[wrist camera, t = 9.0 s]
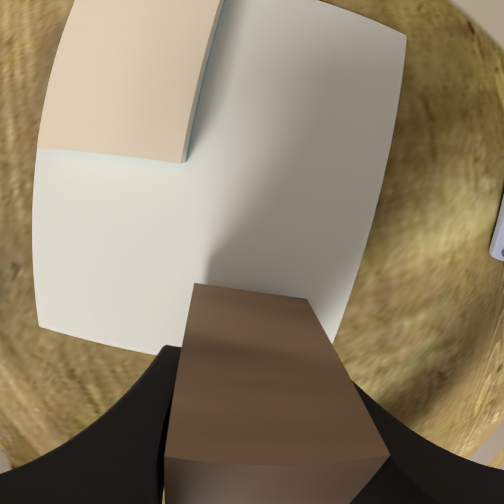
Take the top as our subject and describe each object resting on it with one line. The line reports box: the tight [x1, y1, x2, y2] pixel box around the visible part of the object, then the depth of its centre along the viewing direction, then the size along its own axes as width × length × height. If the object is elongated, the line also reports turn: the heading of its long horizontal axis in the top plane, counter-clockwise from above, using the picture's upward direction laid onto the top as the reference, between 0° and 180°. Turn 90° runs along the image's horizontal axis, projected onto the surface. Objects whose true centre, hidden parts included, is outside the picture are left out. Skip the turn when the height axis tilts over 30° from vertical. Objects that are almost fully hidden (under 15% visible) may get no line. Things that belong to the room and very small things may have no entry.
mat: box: [32, 0, 407, 355], centre depth 10 cm, size 13×15×1 cm
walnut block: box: [164, 283, 390, 504], centre depth 8 cm, size 4×4×7 cm
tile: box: [37, 0, 226, 164], centre depth 8 cm, size 5×2×6 cm
